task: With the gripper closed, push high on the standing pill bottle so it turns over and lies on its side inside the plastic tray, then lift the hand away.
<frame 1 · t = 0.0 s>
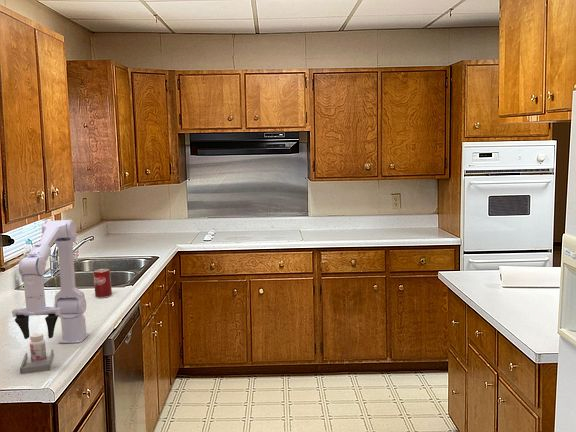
hand: (39, 337, 206), 10 cm above the counter, tool pointing down, fingers open, 7 cm apart
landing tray: (39, 359, 216), on the counter
soda can: (103, 296, 296), on the counter
pill bottle: (39, 360, 216), resting in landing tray
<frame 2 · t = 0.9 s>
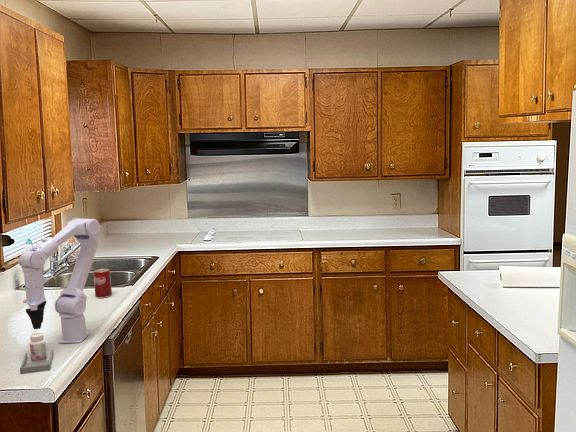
hand: (38, 325, 221), 9 cm above the counter, tool pointing down, fingers open, 6 cm apart
nothing on the counter moved.
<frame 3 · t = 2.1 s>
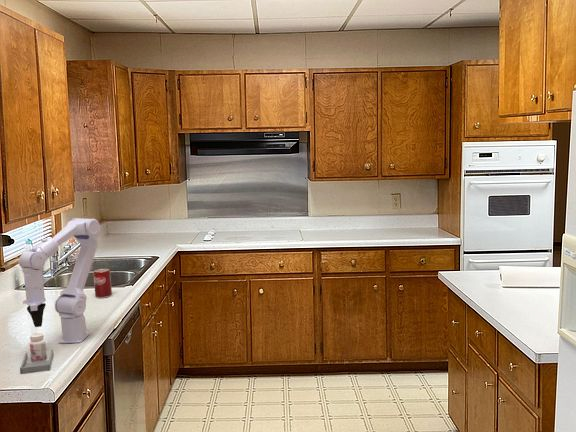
hand: (38, 326, 221), 9 cm above the counter, tool pointing down, fingers closed
nothing on the counter moved.
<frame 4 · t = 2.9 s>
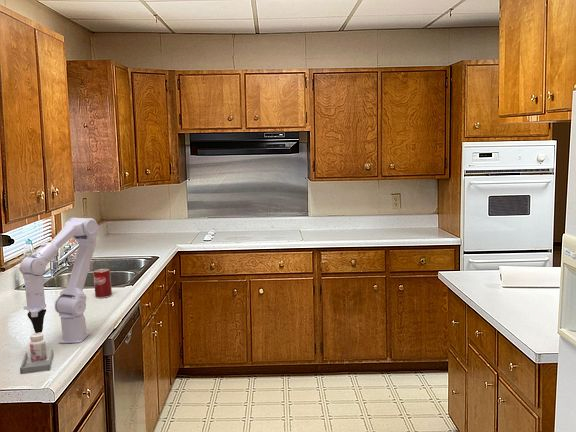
hand: (38, 332, 221), 7 cm above the counter, tool pointing down, fingers closed
nothing on the counter moved.
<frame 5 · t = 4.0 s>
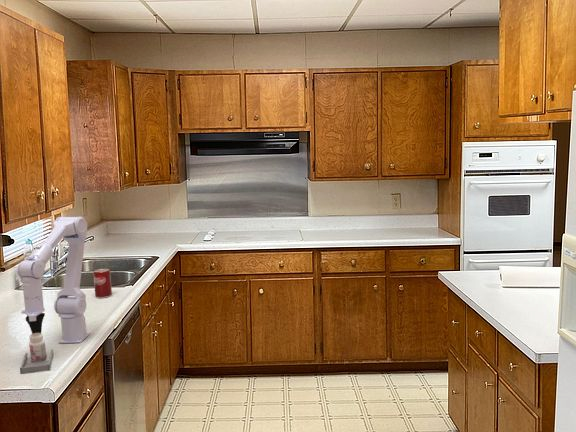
hand: (37, 336, 216), 7 cm above the counter, tool pointing down, fingers closed
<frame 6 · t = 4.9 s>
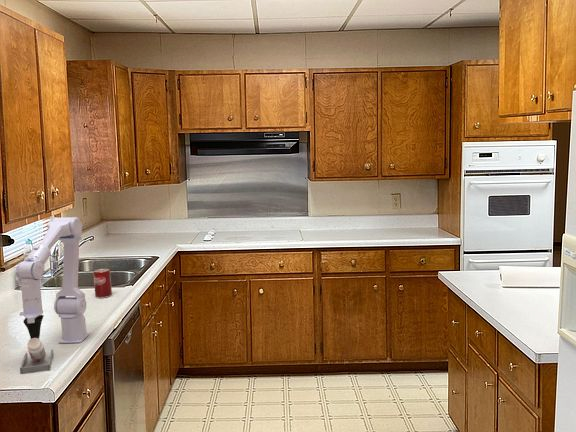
hand: (35, 339, 212), 8 cm above the counter, tool pointing down, fingers closed
pill bottle: (38, 355, 215), point 1 cm above the counter, touching gripper
everything else where it was.
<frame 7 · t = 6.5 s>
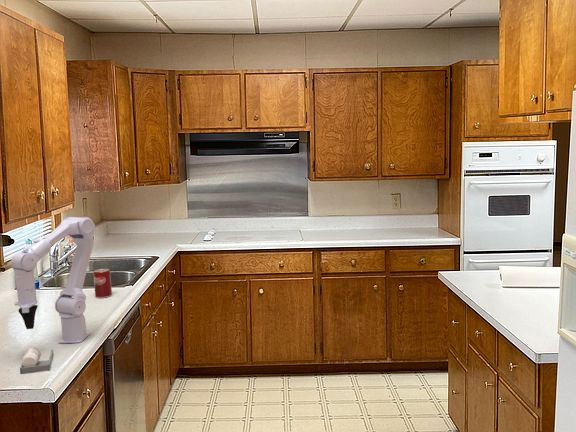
hand: (30, 328, 219), 9 cm above the counter, tool pointing down, fingers closed
pill bottle: (33, 354, 213), point 3 cm above the counter, touching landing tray
everything else where it was.
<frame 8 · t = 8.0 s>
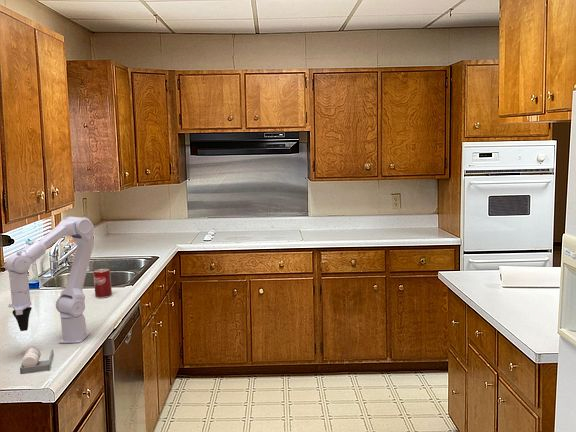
hand: (24, 330, 220), 8 cm above the counter, tool pointing down, fingers closed
nothing on the counter moved.
at the end: pill bottle tilted 90°; pill bottle inside the target area on the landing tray (1.8 cm from its centre), point 2.6 cm above the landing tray's base; the gripper is holding nothing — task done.
